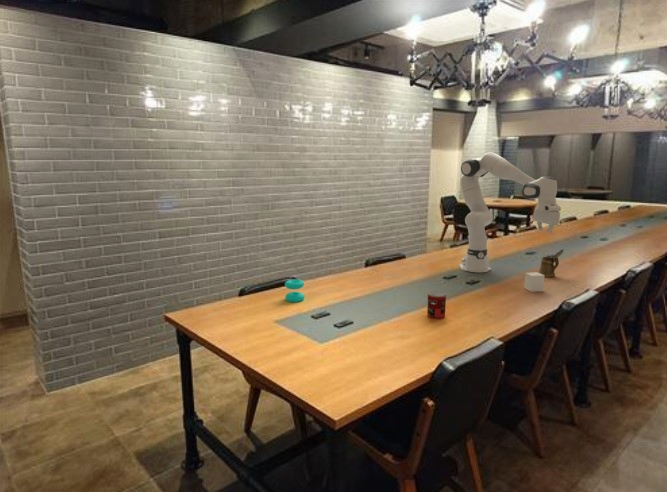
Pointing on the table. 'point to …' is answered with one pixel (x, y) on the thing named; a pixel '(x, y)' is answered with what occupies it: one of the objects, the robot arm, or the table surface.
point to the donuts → (294, 295)
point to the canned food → (436, 304)
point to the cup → (534, 281)
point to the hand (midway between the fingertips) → (544, 231)
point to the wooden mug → (549, 265)
